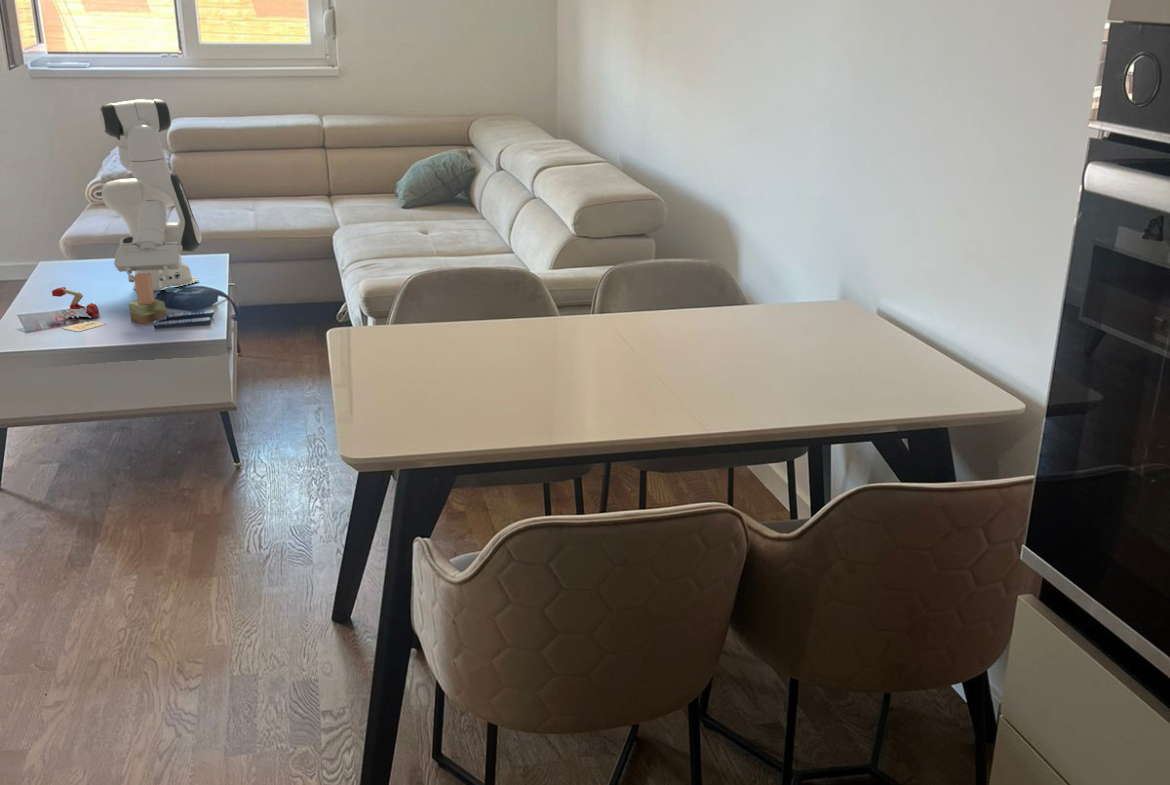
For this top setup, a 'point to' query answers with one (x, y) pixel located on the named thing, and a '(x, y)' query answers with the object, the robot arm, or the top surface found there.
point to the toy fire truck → (91, 308)
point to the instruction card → (83, 326)
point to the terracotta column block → (144, 288)
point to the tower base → (147, 319)
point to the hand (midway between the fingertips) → (146, 280)
